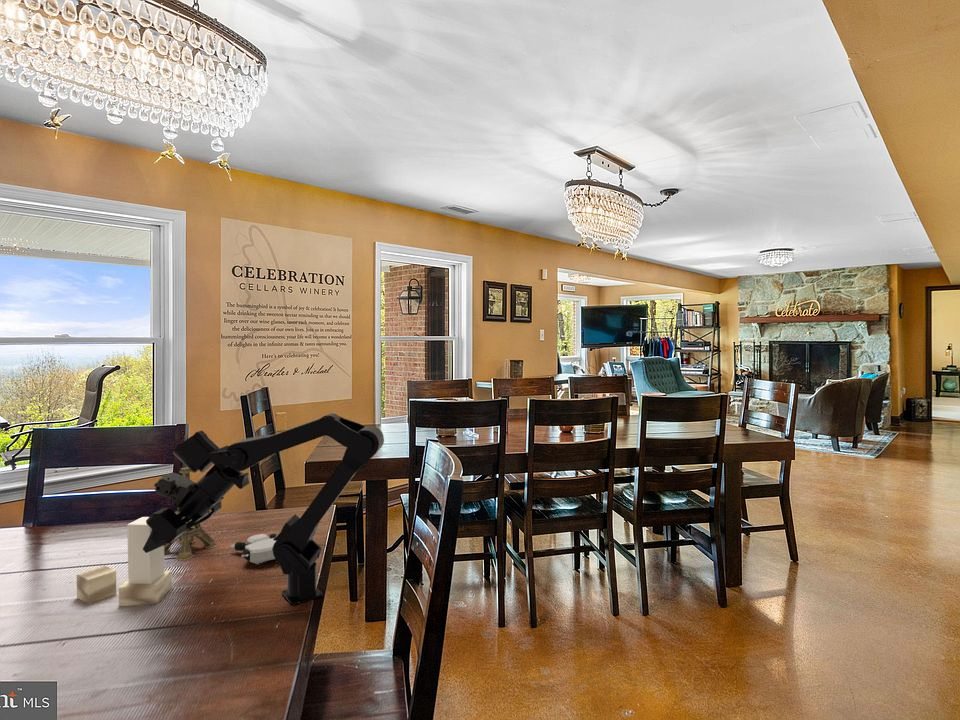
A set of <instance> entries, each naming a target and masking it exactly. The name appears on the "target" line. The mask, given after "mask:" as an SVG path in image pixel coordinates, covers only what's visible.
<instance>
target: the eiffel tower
mask: <svg viewBox="0 0 960 720" xmlns="http://www.w3.org/2000/svg"><path fill="white" fill-rule="evenodd" d="M179 473H180V474H181V476H184V477H186V478H188V479H190V480H191V477H190V473H193V472H192V471H191V470H190V469H189V468H188V467H187V466H186V465H185V464H184V467H182V468H180V470H179V472H178V474H179ZM178 508H179V507H178V506H177V511H174V512H175V513H176V514H179V513H180V511H179V510H178ZM203 527H204V525H201V523H199V524H197V525H195V526H193V527H191V528H189V529H187V530H186V531H185V532H184V533H183V534H182V535H181V536H180V537H179V538H177V539H176V540H174V541H173V542H171V543H168V544H166V545H164V556H165V555H168V554H170V553H171V550H170V548H171V547H172V546H173V544H174V543H175V542H176V541H177V540H180V542H179V543H180V544H179V545H181V546H180V550H179V553H178V556H177V557H176V558H175V560H176V561H181V560H182V561H181V562H185V560H186V561H188V560H190V559H192V557H193V558H194V557H195V555H194V554H193V553H192V549H191V546H190V545H191V544H190V543H192V542H194V541H196V542H197V540H195V538H197V539H198V540H199V541H200V542H201V543H202V544H203V545H202V548H203V547H207V548H211V547H213V546H215V545H217V544H218V543H216V541H215V540H214V539H213V538H212V537H211V536H210V535H209V534H208V533H207V532H206V531H205V530H204V529H203ZM194 537H195V538H194ZM194 543H195V542H194ZM192 544H193V543H192ZM207 548H206V549H207Z"/></svg>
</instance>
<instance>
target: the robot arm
mask: <svg viewBox="0 0 960 720" xmlns="http://www.w3.org/2000/svg"><path fill="white" fill-rule="evenodd" d="M208 436H209V435H207V434H206V433H205V432H204V430H198V431H195V433H194V434H193V435H192V436H190V437H188V438H186V439H185V440H184V441H183V442H180V443H179V444H178V445H177V446H176V447H175V448H174V449H173V451H172V454H173V455H174V456H175V457H176V458H177V459H178V460H179V461H180V462H181V463H182V464H184V466H185V465H186V466H187V467H188V468H189V469H190V470H191V471H192V472H191V473H197V472H198V471H199V472H200V473H201V474H202V473H204V472H206V471H207V470H208V471H207V472H206V473H205V474H204V475H203V476H202V477H201V478H200V479H199V480H198V481H196V482H195V481H193V480H192V479H191V478H190V479H188V478H186V477H184V476H182V474H179V473H176V472H169V473H167V474H164V475H162V476H161V477H160V478H159V479H158V481H157V482H155V483H154V484H153V485H154V487H155V488H154V491H155V493H156V494H158V495H161V496H163V497H167V498H170V499H172V500H173V501H172V502H171V504H173V506H175V508H176V507H177V511H178V510H179V511H180V513H179V514H176V513H175V512H176V511H174V510H173V509H171V508H170V507H163V508H161V509H159V510H156V511H155V512H153V513H152V514H151V515H149V516H148V517H149V518H148V519H147V520H146V524H147V525H148V526H149V527H151V528H152V531H151V533H150V536H149V538H148V540H147V542H146V543H145V545H144V547H143V551H145V552H146V553H148V552H150V551H152V550H154V549H157V548H159V547H161V546H164V545H166V544H168V543H171V542H173V541H174V540H176V539H177V538H179V537H180V536H181V535H182V534H183V533H184V532H185V531H186V530H187V529H189V528H191V527H193V526H195V525H197V524H199V523H200V524H201V523H203V522H205V521H207V520H209V519H210V518H211V517H212V516H214V515H215V514H217V513H218V512H219V511H220V510H221V509H222V500H223V499H224V498H225V497H224V496H225V495H226V494H227V493H228V492H229V491H231V489H232V488H233V487H234V486H235V487H237V488H238V489H240V490H242V489H244V488H245V487H247V486H249V484H250V480H249V475H250V473H248V472H243V471H246V470H247V469H249V468H251V467H253V466H255V465H257V464H258V463H261V462H263V461H264V460H266V459H267V458H269V457H271V456H273V455H275V454H276V453H279V452H282V451H285V450H288V449H291V448H293V447H297V446H299V445H302V444H305V443H308V442H310V441H313V440H316V439H320V438H321V437H325V436H327V437H328V438H329V437H330V438H331V439H333V441H335V442H337V444H340V445H341V446H343V447H345V448H346V449H345V451H344V454H343V456H342V459H341V461H340V463H339V465H338V466H337V468H336V469H335V470H334V472H333V473H332V474H331V476H330V477H329V478H328V480H327V481H326V483H324V486H323V487H322V488H321V489H320V490H319V492H318V493H317V494H316V496H315V497H314V499H313V500H312V502H311V503H310V505H308V507H307V508H306V510H305V511H304V513H302V515H301V516H300V517H299V516H298V515H297V514H296V513H294V515H292V516H291V517H290V518H289V519H288V520H287V521H286V522H285V523H284V525H283V527H282V529H281V530H280V532H279V533H278V534H276V535H277V536H276V537H275V538H274V539H273V540H274V541H276V542H275V543H274V545H273V548H272V551H273V555H274V557H275V559H274V560H276V561H277V562H278V563H279V566H280V569H281V572H282V574H283V575H286V581H287V583H286V588H287V589H285V590H282V591H281V593H282V594H283V595H284V596H285V597H286V599H287V600H288V601H289V602H290V603H291V604H295V603H298V602H302V601H305V602H307V601H306V600H308V601H311V600H315V599H318V598H321V597H323V596H324V595H323V594H324V593H323V592H322V591H321V590H320V589H319V588H318V587H317V562H316V561H317V560H318V559H319V558H320V556H321V553H322V550H323V549H322V547H321V546H320V545H319V544H318V543H317V542H316V541H315V540H314V537H315V534H316V533H317V529H318V528H319V525H320V522H321V521H322V520H323V518H324V517H325V516H326V514H327V513H328V512H329V511H330V509H331V508H332V506H333V505H334V503H335V502H336V501H337V499H338V498H339V497H340V495H341V494H342V492H343V491H344V490H345V488H347V486H348V484H349V483H350V481H351V480H352V478H354V476H355V475H356V473H357V472H358V471H359V470H360V469H361V468H362V467H364V466H365V465H366V464H367V463H368V462H369V461H370V460H371V459H372V458H373V457H375V455H376V454H377V453H378V451H379V450H380V449H381V448H382V447H383V446H384V442H385V438H384V434H383V432H382V431H381V429H380V428H379V427H377V426H375V425H364V424H362V423H359V422H356V421H353V420H350V419H347V418H344V417H342V416H340V415H338V414H336V413H333V412H332V413H327V414H325V415H324V416H321V417H319V418H317V419H314V420H311V421H309V422H305V423H303V424H300V425H297V426H294V427H292V428H289V429H285V430H283V431H280V432H277V433H273V434H268V435H260V436H253V437H246V438H244V439H243V440H239V441H236V442H234V443H232V444H231V445H224V446H223V447H219V446H218V445H217V444H216V443H215V442H214V441H213V440H212V439H211V438H209V437H208ZM209 468H210V469H209ZM178 507H179V508H178ZM177 540H178V539H177ZM177 540H176V541H177ZM174 542H175V541H174ZM282 594H281V595H282ZM283 595H282V596H283ZM284 596H283V597H284ZM286 599H285V600H286ZM310 599H311V600H310ZM287 600H286V601H287ZM288 601H287V602H288ZM289 602H288V603H289ZM290 603H289V604H290ZM302 603H303V602H302ZM291 604H290V605H291ZM298 604H299V603H298ZM295 605H296V604H295Z"/></svg>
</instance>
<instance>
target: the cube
mask: <svg viewBox="0 0 960 720" xmlns="http://www.w3.org/2000/svg"><path fill="white" fill-rule="evenodd" d="M115 595H117V570H115V569H113V568H111V567H108V566H107V565H102V566H99V567H95V568H91V569H89V570H85V571H83V572H79V573H77V574H76V599H78V600H79V599H80V600H79V601H81V600H82V602H83V601H84V602H83V603H85V604H87V605H90V604H94V603H97V602H99V601H101V600H104V599H107V598H110V597H113V596H115Z"/></svg>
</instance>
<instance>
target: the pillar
mask: <svg viewBox="0 0 960 720" xmlns="http://www.w3.org/2000/svg"><path fill="white" fill-rule="evenodd" d="M149 517H150V516H142V517H140V518H137V519H135V520H134V521H132V522H130V523H128V524H127V526H126V528H127V569H128V570H127V573H128V574H127V577H128V578H127V580H128V584H151V583H153V582H154V581H155V580H157V579H158V578H160V577H161V576H162V575H164V574H165V571H166V570H165V555H164V546H161V547H159V548H157V549H154V550H152V551H150V552H148V553H146V552H145V551H143V547H144V545H145V543H146V542H147V540H148V538H149V536H150V533H151V531H152V528H151V527H149V526H148V525H147V524H146V520H147V519H148V518H149Z"/></svg>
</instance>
